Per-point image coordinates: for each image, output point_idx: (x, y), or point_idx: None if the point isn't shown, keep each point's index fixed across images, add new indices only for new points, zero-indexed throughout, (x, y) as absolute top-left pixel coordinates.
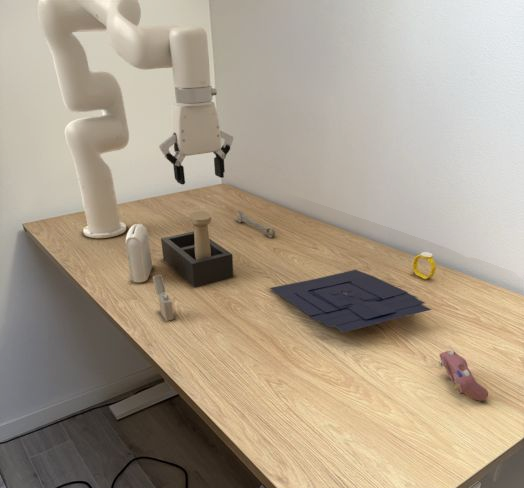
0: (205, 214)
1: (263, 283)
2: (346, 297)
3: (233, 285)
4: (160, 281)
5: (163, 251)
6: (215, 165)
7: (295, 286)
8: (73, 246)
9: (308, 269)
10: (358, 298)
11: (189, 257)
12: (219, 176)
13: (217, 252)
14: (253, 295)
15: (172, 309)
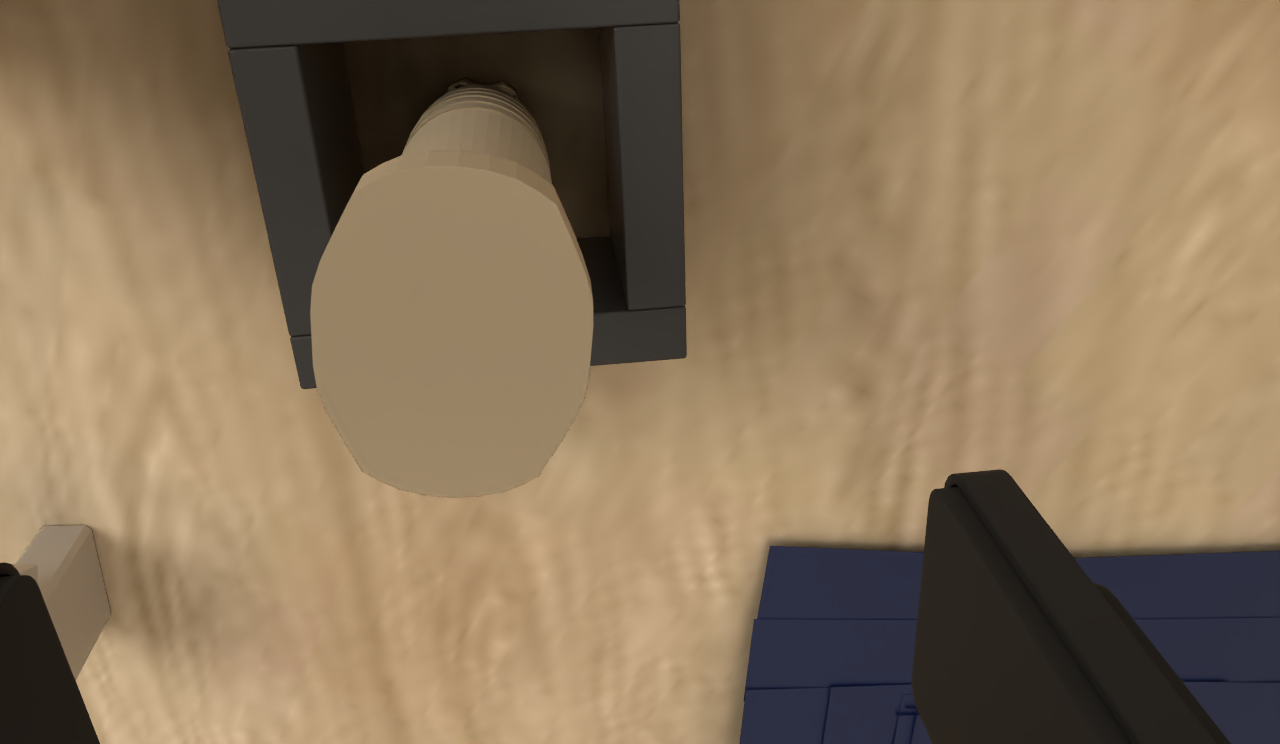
0: (535, 341)
1: (785, 449)
2: None
3: (600, 393)
4: None
5: None
6: (1015, 682)
7: (900, 602)
8: None
9: (1151, 400)
10: None
11: (314, 255)
12: (919, 653)
13: (618, 184)
14: (647, 555)
15: (86, 659)
